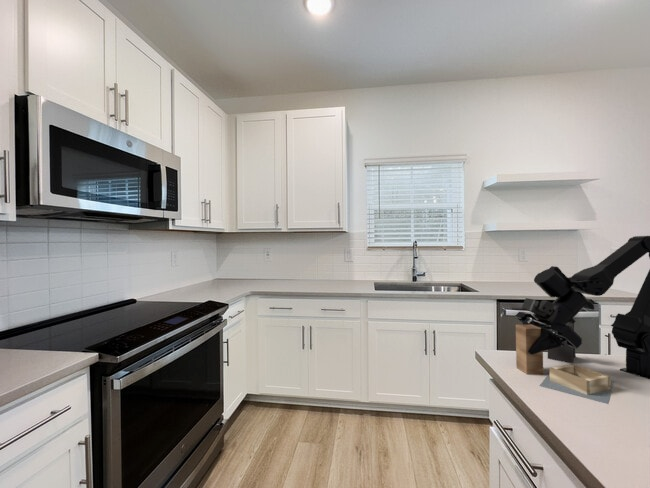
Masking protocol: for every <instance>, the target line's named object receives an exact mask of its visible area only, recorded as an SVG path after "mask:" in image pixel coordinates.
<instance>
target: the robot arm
mask: <svg viewBox="0 0 650 488" xmlns="http://www.w3.org/2000/svg"><path fill="white" fill-rule="evenodd" d="M646 254H648V257H649V259H650V235H637V236H636V235H635V236H632V237H630V238H628V241H627V242H626V243H624V244H623V245H621V246H620V247H619V248H617V249H616V250H614V251H613V252H612V253H610V254H609V255H608V256H606V257H605V258H604V259H603V260H601V261H600V262H598V263H597V264H595V265H593V266H591V267H587V268H584V269H582V270H580V271H578V272H576V273H574V274H573V275H572V276H569V277H568V276H567V275H566V274H565V273H564V272H562V269H560V267H558V266H556V265H555V266H553V265H552V266H550V267H549V268H547V269H545V270H542V271H541V272H538V273H537V274H536V275H535V277H534V279H533V281H534V283H535V284H536V285H537V286H538V287H539V288H540V289H541V290H542V291H543V292H544V293H545V294H546V295H547V296H548V297H550V298H556V299H554V301H553V302H551V301H549V300H545V299H543V300H541V301H539V300H537V299H536V300H535V299H531V298H527V297H525V299H524V301H523V304H522V305H521V309H522V310H525V311H528V312H525V311H517V313H516V314H515V316H514V317H515V318H516V319H517V320H518V321H519V322H520V323H521V325H534V326H537V327H539V328H541V335H540V336H539V338H538V339H537V340H536V341H535V343H534V344H533V345H532V346H531V348H530V349H529V351H528V352H529V353H530V354H535V353H538V352H542V351H543V352H545V351H548V349H552V348H556V347H560V346H562V347H564V346H565V345H564V344H563V343H564V342H565V341H566V340H567V345H568V346H570V347H573V348H575V350H578V349H579V348H580V347H581V346H582V344H583V339H582V337H581V336H580V335H579V334H578V333H577V332H576V331H575V329H574V330H573V329H572V328H571V327H570V326H567V324H568V323H572V324H574V325H575V322H576V320H575V317H576V316H577V315H578V314H579V312H581V311H582V309H587V310H595V304H594V302H593V301H594V299H592V298H588V297H586V296H585V295H591V296H596V297H600V296H603V295H605V294H606V293H607V292H608V290H609V289H610V288H611V287H613V285H614V282H615V278H616V277H617V276H618V275H620V274H621V273H622V272H624V271H625V270H626V269H628V268H629V267H630V266H632V265H633V264H634V263H636V262H637V261H638V260H640V259H641V258H642V257H644V256H645V255H646ZM529 312H530V313H529ZM531 313H532V314H531ZM610 326H611V328H612V330H611V334H612V336H613V339H615V341H616V344H617V347H620V348H623V349H625V367H622V368H619V371H621V372H625V373H628V374H630V375H634V376H638V377H641V378H643V379H644V378H645V379H648V380H650V269H649V270H648V272H647V274H646V276H645V279H644V280H643V283H642V285H641V286H640V289H639V291H638V294H637V295H636V298H635V300H634V302H633V304H632V307H631V309H630V310H629V311H628V312H626V313H625V314H623V313H617V314H616V315H615V318H614V322H612V324H611V325H610Z"/></svg>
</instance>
